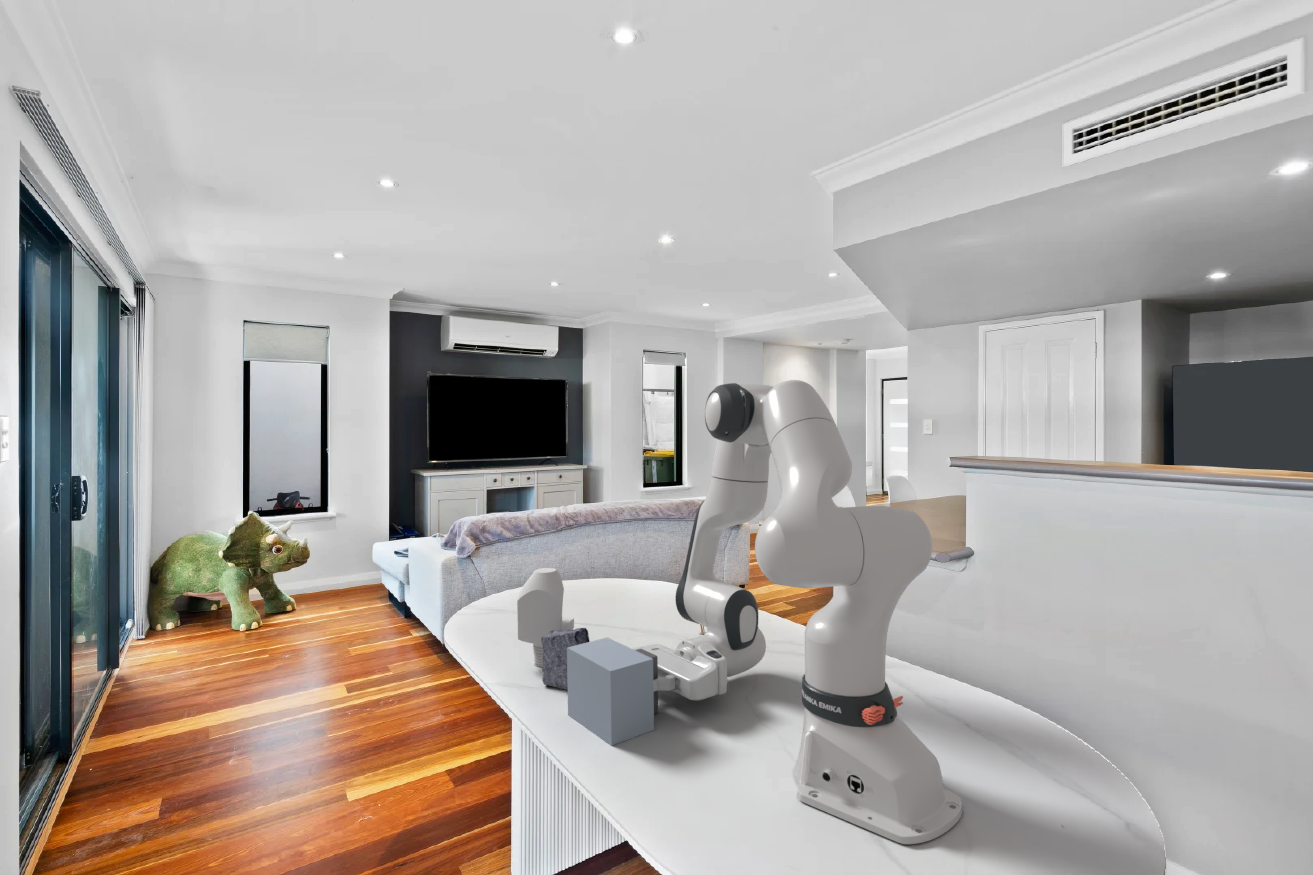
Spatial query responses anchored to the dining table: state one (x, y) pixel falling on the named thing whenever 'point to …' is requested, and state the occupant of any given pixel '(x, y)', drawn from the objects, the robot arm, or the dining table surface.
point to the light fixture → (541, 609)
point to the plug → (655, 674)
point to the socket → (610, 689)
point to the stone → (559, 654)
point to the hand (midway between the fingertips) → (636, 680)
